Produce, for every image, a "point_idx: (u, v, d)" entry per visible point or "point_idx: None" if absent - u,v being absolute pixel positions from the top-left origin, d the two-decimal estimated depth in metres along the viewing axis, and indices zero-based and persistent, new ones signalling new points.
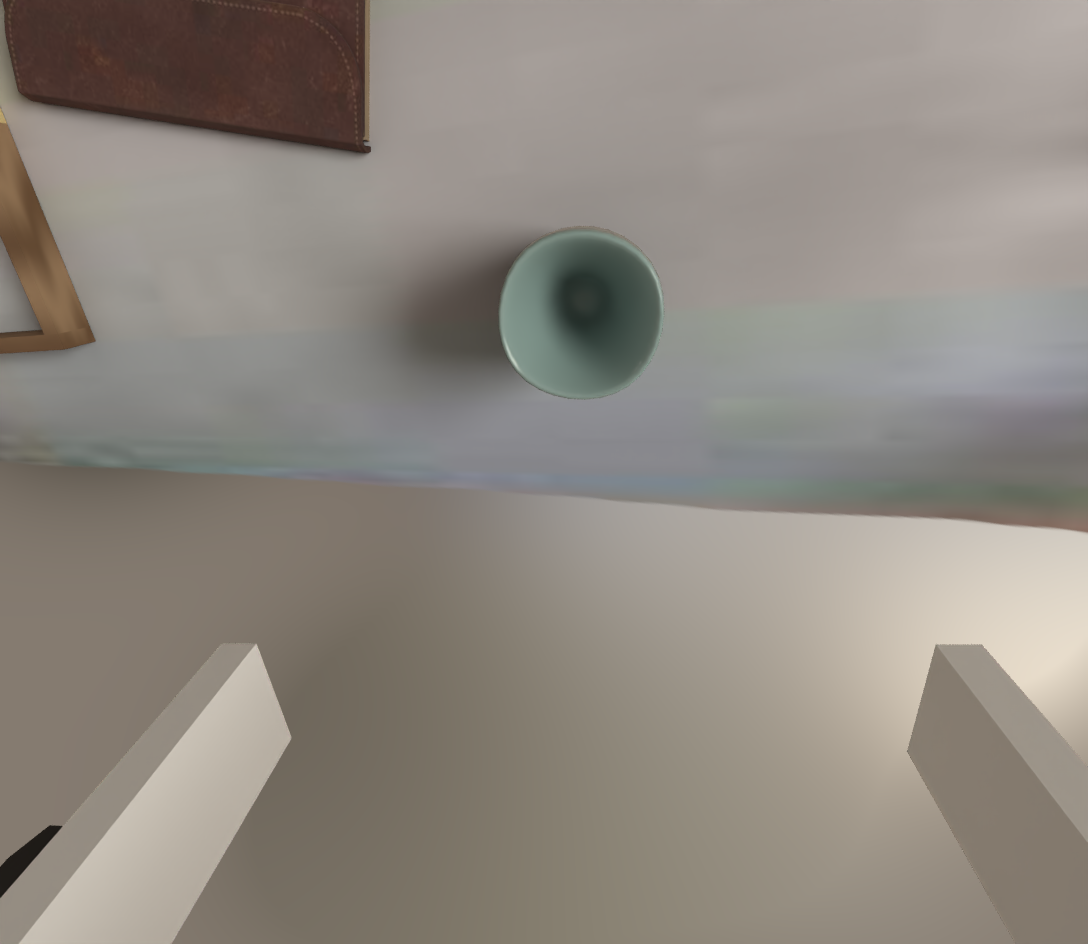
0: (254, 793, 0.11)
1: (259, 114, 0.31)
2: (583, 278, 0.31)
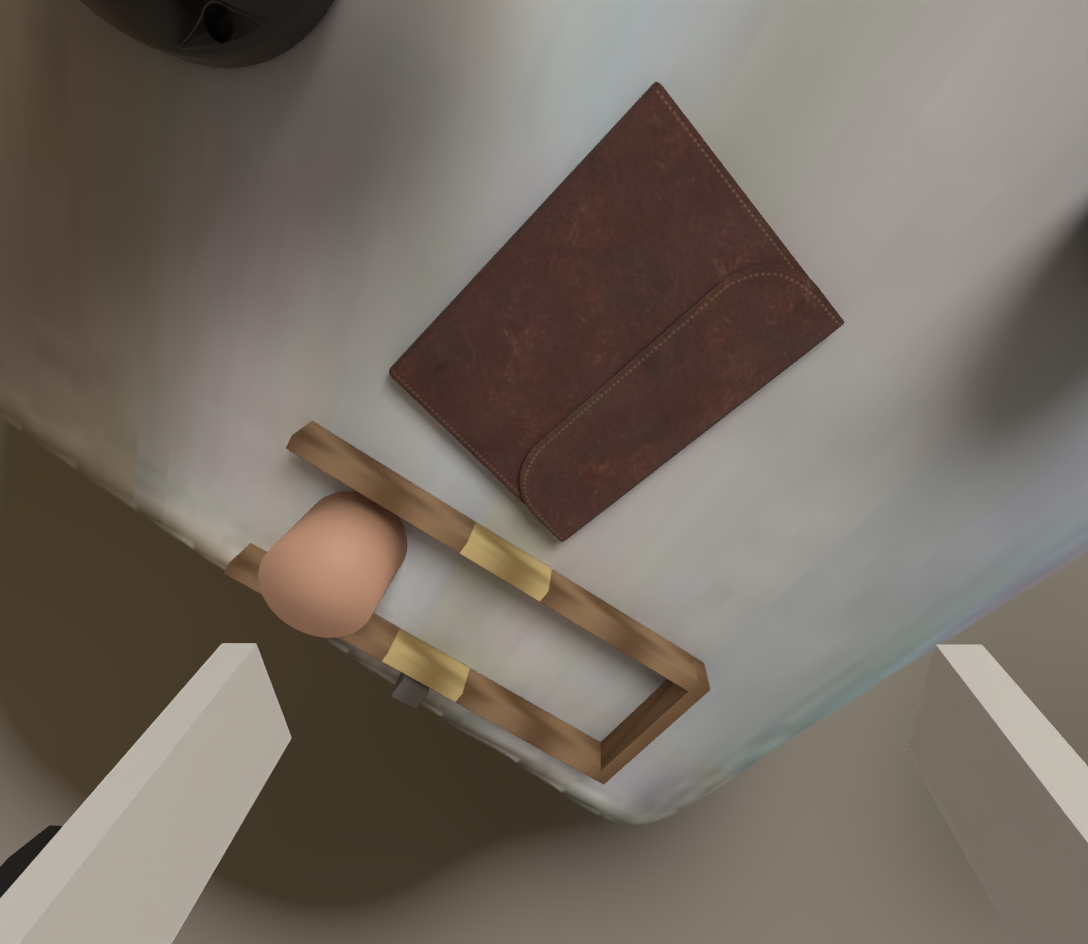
0: (254, 792, 0.11)
1: (741, 387, 0.30)
2: None
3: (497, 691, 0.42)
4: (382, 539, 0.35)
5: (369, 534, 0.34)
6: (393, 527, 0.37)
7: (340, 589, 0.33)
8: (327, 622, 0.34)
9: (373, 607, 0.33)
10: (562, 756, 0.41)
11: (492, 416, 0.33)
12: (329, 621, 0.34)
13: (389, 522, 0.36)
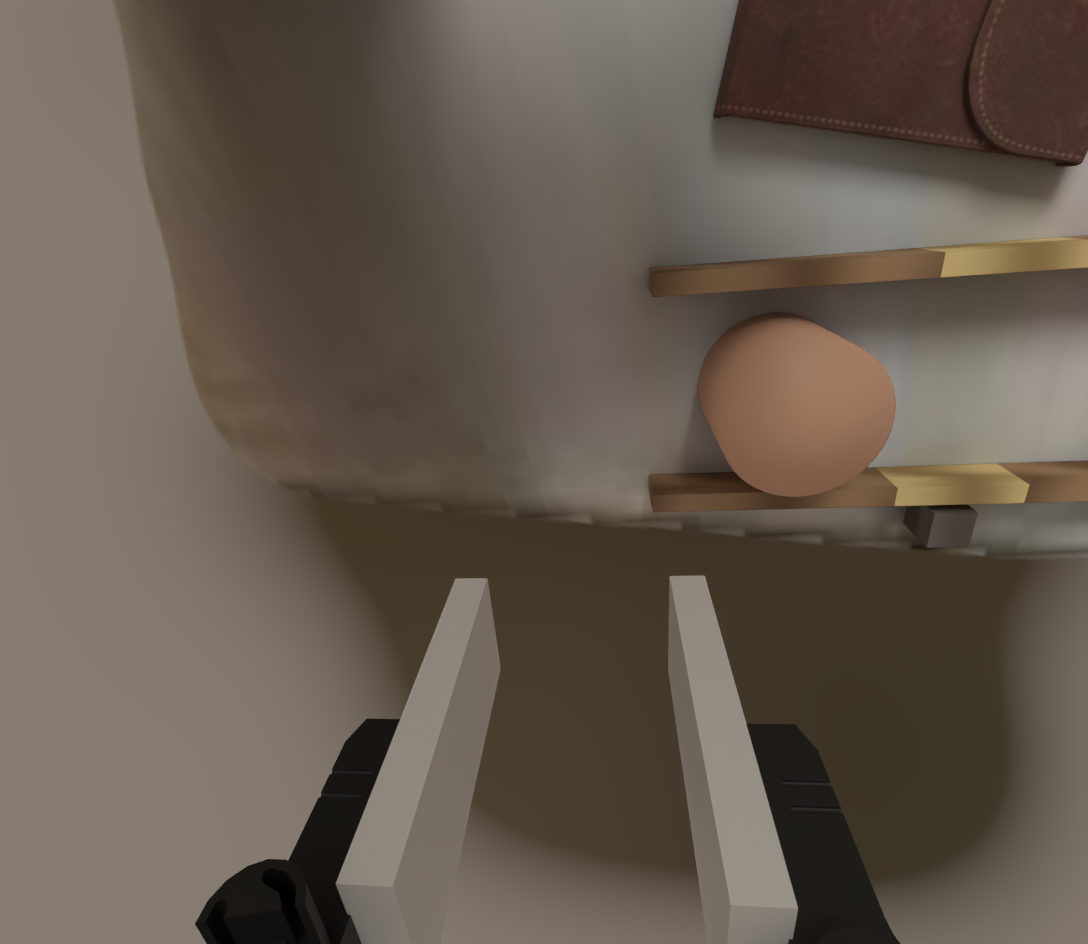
0: (487, 710, 0.13)
1: None
2: None
3: (1061, 467, 0.29)
4: (827, 330, 0.25)
5: (813, 327, 0.24)
6: (816, 324, 0.27)
7: (837, 400, 0.23)
8: (838, 459, 0.24)
9: (893, 396, 0.23)
10: None
11: (888, 56, 0.22)
12: (840, 456, 0.24)
13: (808, 320, 0.27)
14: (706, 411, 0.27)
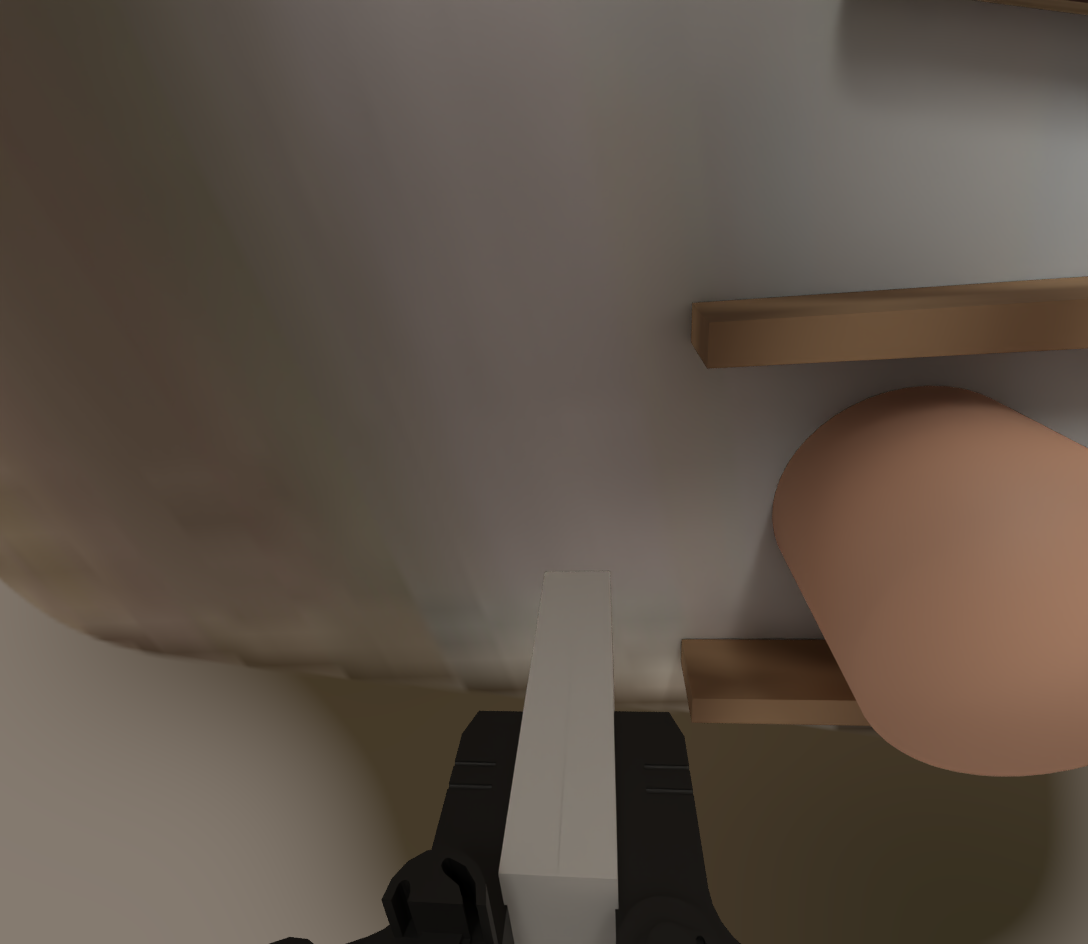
0: None
1: None
2: None
3: None
4: (1067, 438, 0.12)
5: (1051, 439, 0.12)
6: (1019, 413, 0.14)
7: None
8: None
9: None
10: None
11: None
12: None
13: (1004, 407, 0.14)
14: (800, 574, 0.14)
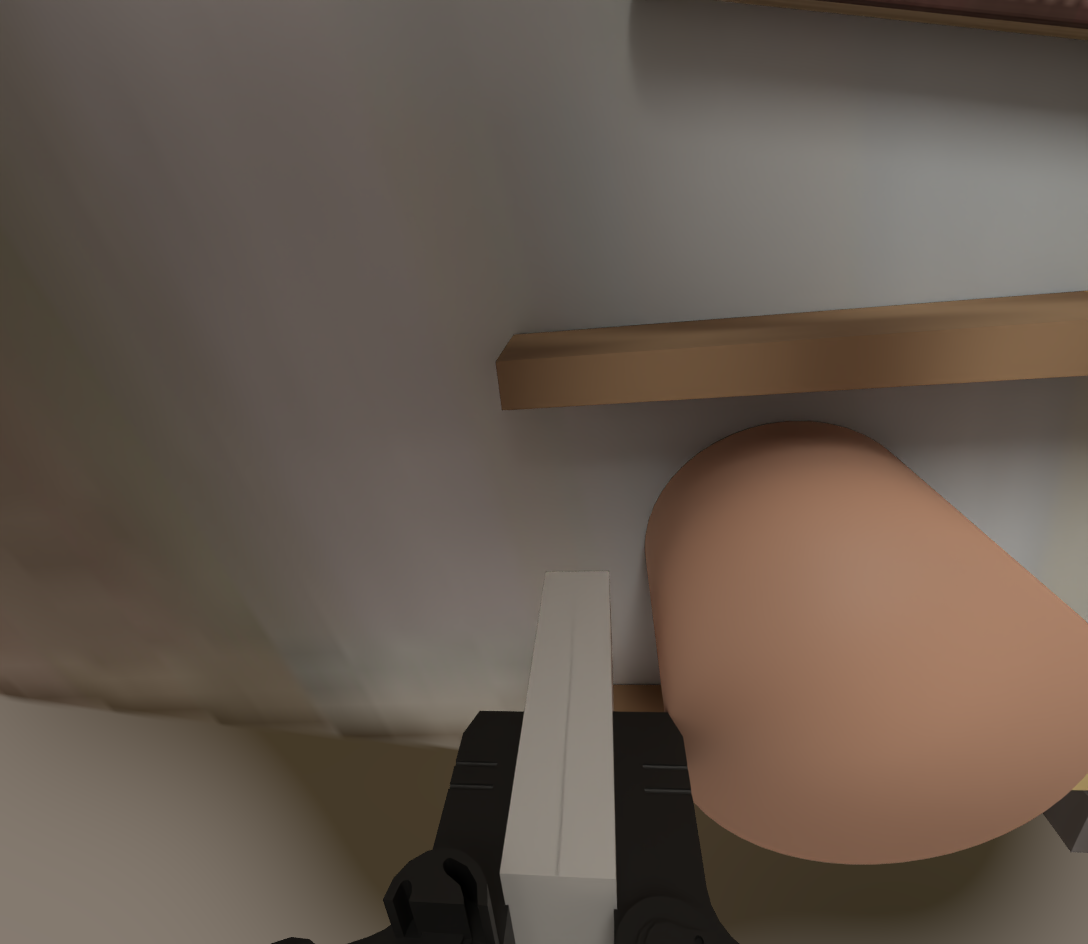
0: None
1: None
2: None
3: None
4: (918, 486, 0.11)
5: (890, 490, 0.10)
6: (884, 453, 0.12)
7: (964, 699, 0.09)
8: (954, 808, 0.10)
9: None
10: None
11: None
12: (959, 803, 0.10)
13: (867, 447, 0.12)
14: None
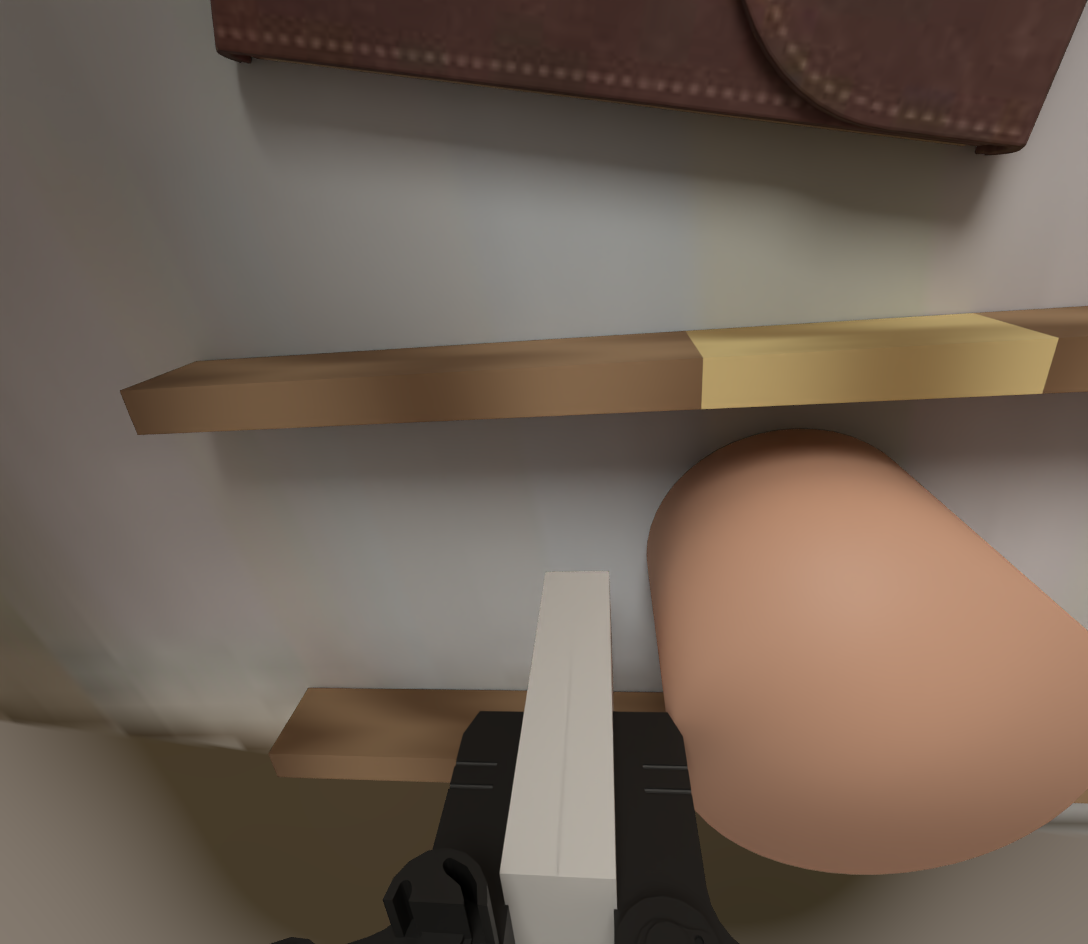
0: None
1: None
2: None
3: None
4: (921, 495, 0.11)
5: (894, 500, 0.10)
6: (887, 462, 0.12)
7: (968, 710, 0.09)
8: (956, 819, 0.10)
9: None
10: None
11: None
12: (962, 814, 0.10)
13: (870, 455, 0.12)
14: None
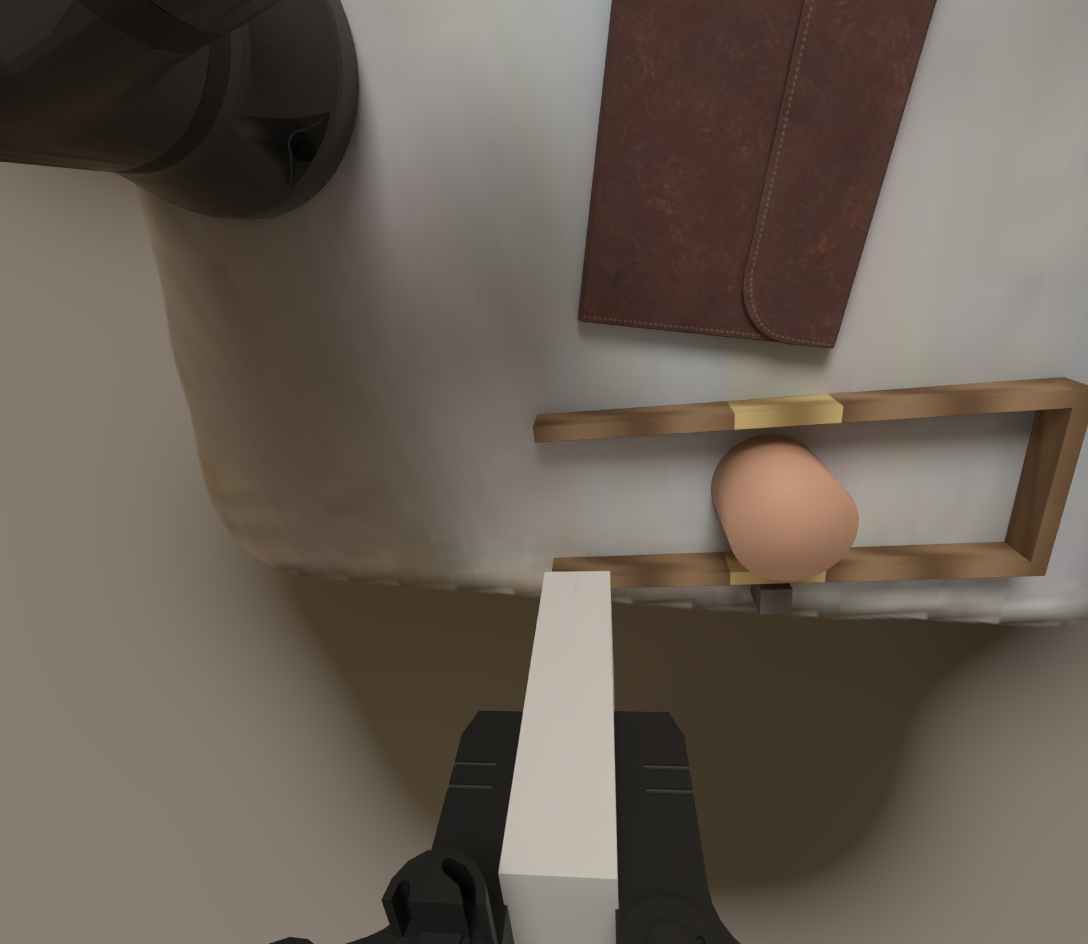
0: None
1: (905, 50, 0.27)
2: None
3: (857, 552, 0.38)
4: (807, 455, 0.33)
5: (796, 456, 0.33)
6: (800, 446, 0.35)
7: (815, 514, 0.32)
8: (818, 555, 0.33)
9: (855, 510, 0.31)
10: (975, 571, 0.36)
11: (688, 284, 0.32)
12: (819, 552, 0.32)
13: (794, 444, 0.35)
14: (718, 513, 0.36)
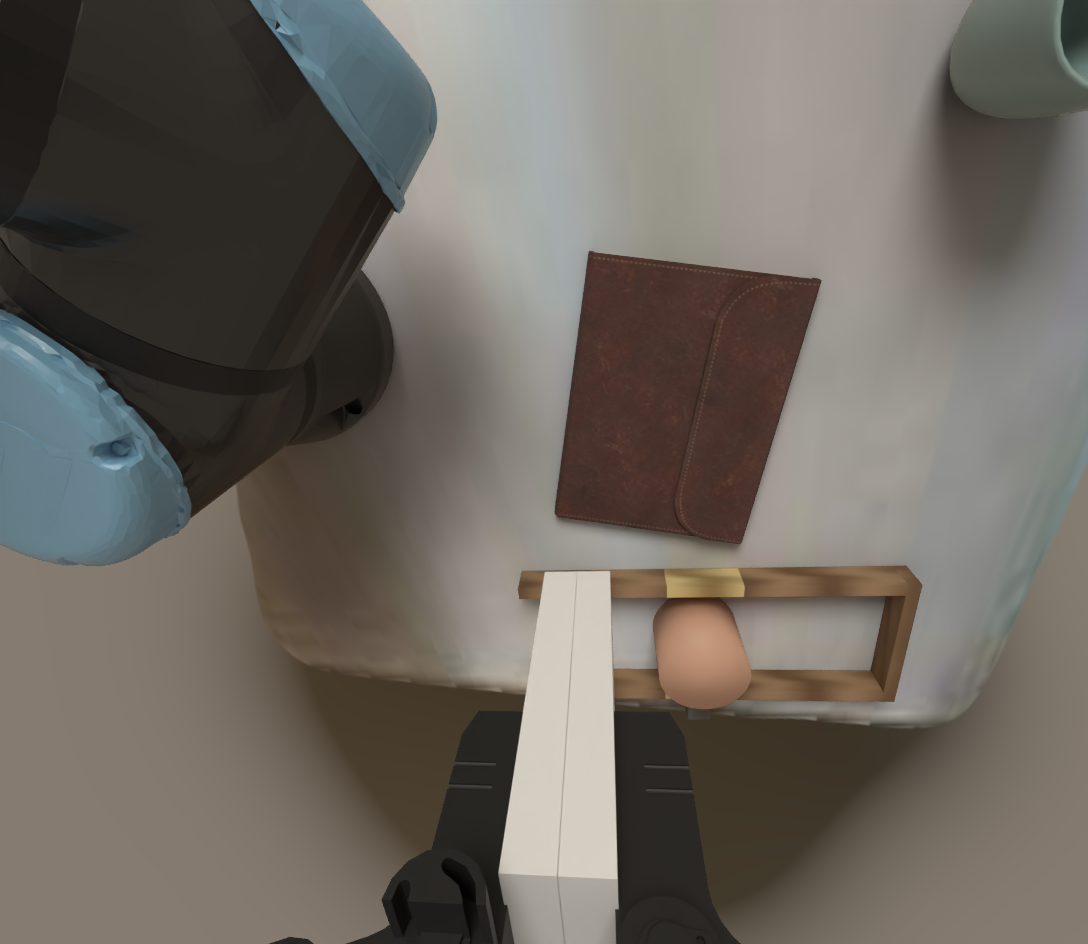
0: None
1: (782, 368, 0.38)
2: None
3: (762, 675, 0.50)
4: (719, 617, 0.45)
5: (710, 620, 0.45)
6: (717, 604, 0.47)
7: (720, 667, 0.44)
8: (724, 693, 0.45)
9: (749, 666, 0.43)
10: (844, 696, 0.48)
11: (635, 497, 0.43)
12: (724, 692, 0.45)
13: (712, 603, 0.47)
14: None
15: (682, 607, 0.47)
